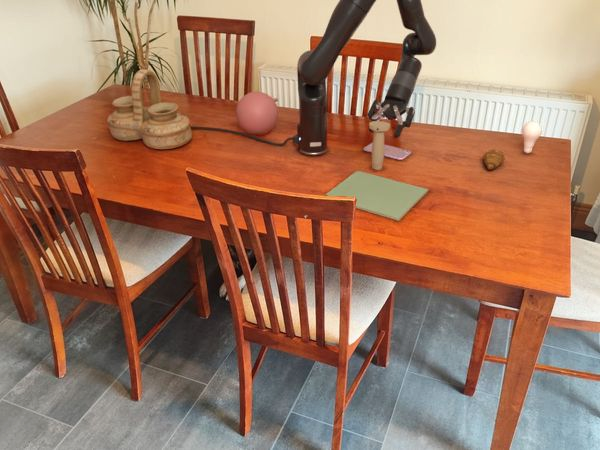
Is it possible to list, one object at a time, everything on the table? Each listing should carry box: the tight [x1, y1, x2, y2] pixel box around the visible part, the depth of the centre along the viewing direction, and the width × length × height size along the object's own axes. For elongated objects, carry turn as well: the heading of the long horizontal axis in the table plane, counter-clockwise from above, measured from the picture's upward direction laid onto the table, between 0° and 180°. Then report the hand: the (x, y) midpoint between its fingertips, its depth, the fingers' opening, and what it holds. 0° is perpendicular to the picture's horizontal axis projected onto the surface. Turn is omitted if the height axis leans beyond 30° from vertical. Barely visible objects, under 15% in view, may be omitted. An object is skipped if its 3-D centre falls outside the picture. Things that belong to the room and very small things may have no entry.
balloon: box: [235, 91, 279, 136], centre depth 201 cm, size 15×20×15 cm
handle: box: [368, 120, 391, 171], centre depth 172 cm, size 5×6×15 cm
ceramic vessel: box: [106, 68, 193, 150], centre depth 195 cm, size 34×18×25 cm, turn 61°
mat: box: [324, 170, 429, 222], centre depth 161 cm, size 24×20×1 cm
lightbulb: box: [521, 120, 543, 154], centre depth 181 cm, size 6×6×11 cm
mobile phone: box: [363, 142, 412, 161], centre depth 186 cm, size 8×1×15 cm
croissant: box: [482, 148, 506, 171], centre depth 176 cm, size 14×7×5 cm, turn 155°
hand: (382, 134), depth 172 cm, fingers open, 8 cm apart
